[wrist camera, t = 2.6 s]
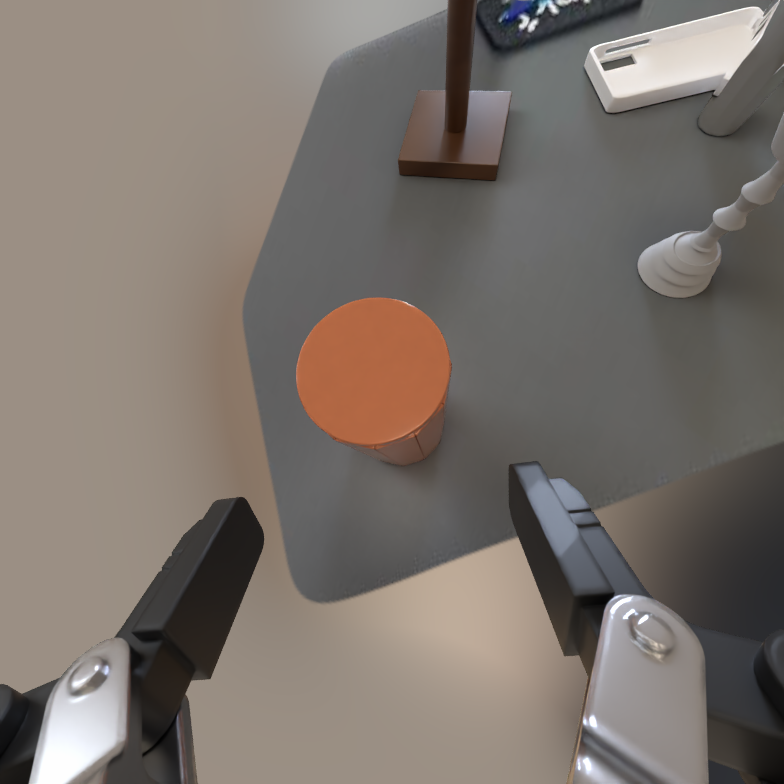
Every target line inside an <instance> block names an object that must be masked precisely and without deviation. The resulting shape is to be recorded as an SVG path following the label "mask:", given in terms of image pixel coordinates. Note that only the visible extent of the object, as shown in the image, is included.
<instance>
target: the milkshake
mask: <svg viewBox="0 0 784 784" xmlns="http://www.w3.org/2000/svg"><path fill="white" fill-rule="evenodd" d="M783 81H784V0H771V2H770V4H769V5H768V7H767V9H766V10H765V12H764V14H763V15H762V17H761V18H760V20H759V22H758V23H757V25H756V27H755V28H754V30H753V32H752V33H751V35H750V36H749V38H748V40H747V41H746V43H745V44H744V46H743V48H742V49H741V51H740V52H739V54H738V55H737V57H736V59H735V60H734V62H733V63H732V65H731V66H730V68H729V70H728V71H727V73H726V74H725V76H724V77H723V79H722V81H721V82H720V84H719V85H718V87H717V88H716V90H715V92H714V93H713V95H712V96H711V98H710V100H709V101H708V103H707V104H706V106H705V107H704V109H703V111H702V112H701V114H700V115H699V117H698V126H699V127H700V128H701V129H702V130H703V131H704V132H705V133H707V134H711V135H715V136H724V135H730V134H733V133H734V132H735V131H736V130H737V129H738V128H739V127H741V126H742V125H743V123H744V122H745V121H746V120H747V119H748V118H749V117H750V116H751V115H752V114H753V113H754V112H755V111H756V110H757V109H758V108H759V107H760V105H761V104H762V103H763V102H764V101H765V100H766V99H767V98H768V97H769V96H770V95H771V94H772V93H773V92H774V91H775V90H776V89H777V87H778V86H779V85H780V84H781V83H782V82H783Z"/></svg>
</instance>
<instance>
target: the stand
mask: <svg viewBox="0 0 784 784" xmlns="http://www.w3.org/2000/svg"><path fill="white" fill-rule="evenodd" d="M476 10H477V0H448V16H447V55H446V91H422V90H419V91H418V93H417V96H416V100H415V103H414V107H413V110H412V113H411V117H410V120H409V124H408V127H407V131H406V134H405V138H404V141H403V145H402V148H401V151H400V155H399V158H398V164H399V173H400V175H415V176H431V177H448V178H464V179H480V180H495V179H496V175H497V170H498V165H499V159H500V154H501V149H502V144H503V138H504V133H505V128H506V122H507V117H508V112H509V106H510V101H511V96H512V92H511V91H470V80H471V68H472V57H473V45H474V34H475V22H476Z"/></svg>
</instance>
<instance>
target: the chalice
mask: <svg viewBox="0 0 784 784" xmlns="http://www.w3.org/2000/svg"><path fill="white" fill-rule="evenodd" d="M771 149H772V152H773V155H774V156H775V157H776V159H777V160H778V161H777V162H776V164H775V165H774V166H773V167H772V169H771V170H769V171H768V172H767V173H765V174H764V175H762V176H761V177H760V178H758V179H757V180H755V181H752V182H749V183H747V184H745V185H744V186H743V187H742V191H741V195H740V197H739V198H738V200H737V201H736V203H734V204H732V205H731V206H729V207H725V208H720V209H718V210H716V211H715V212H714V214H713V222H712V223H711V225H710V226H709V228H708V229H707V230H705V231H704V232H700V231H687V232H681V233H677V234H675V235H673V236H671V237H669V238H667V239H664V240H663V241H661V242H659V243H657V244H654V245H652V246H650V247H648V248H647V249H645V251H644V252H643V253H642V254H641V255H640V258H639V261H638V272H639V274H640V276H641V278H642V280H643V282H644V283H645V284H647V285H648V286H649V287H650V288H651V289H652V290H654V291H656V292H658V293H660V294H662V295H665V296H669V297H676V298H685V297H690V296H694V295H696V294H698V293H700V292H701V291H703V290H704V289H705V288H706V287H707V286H708V284H709V283H710V280H711V277H712V276H713V274H714V273H715V271H716V268H717V266H718V265H719V264H720V261H721V247H720V244H719V243H718V239H719V238H720V237H721V236H722V235H724V234H726V233H727V232H729V231H735V230H739V229H741V228H743V227H744V226H745V224H746V216H747V215H748V213H749V212H750V211H751V210H752V209H754V208H756V207H758V206H760V205H763V204H767V203H770V202H771V201H773V199H774V198H775V194H776V191H777V190H778V189H779V188H780V187H781V185H782V184H783V183H784V113H783V116H782V118H781V121H780V123H779V126H778V129H777V131H776V134H775V136H774V139H773V141H772V146H771Z"/></svg>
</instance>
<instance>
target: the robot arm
mask: <svg viewBox="0 0 784 784" xmlns="http://www.w3.org/2000/svg"><path fill="white" fill-rule="evenodd" d="M509 508H510V514H511V518H512V521H513V524H514V527H515V529H516V532H517V535H518V537H519V540H520V542H521V544H522V548H523V550H524V552H525V555H526V558H527V560H528V563H529V566H530V568H531V571H532V573H533V576H534V579H535V581H536V584H537V586H538V589H539V592H540V594H541V597H542V599H543V601H544V604H545V607H546V610H547V612H548V615H549V617H550V620H551V623H552V625H553V628H554V630H555V633H556V635H557V638H558V641H559V643H560V646H561V649H562V651H563V654H564V656H575V655H579V656H580V658H581V661H582V663H583V665H584V667H585V670H586V673H587V675H588V679H587V684H586V689H585V694H584V700H583V704H582V709H581V714H580V719H579V724H578V729H577V734H576V740H575V744H574V749H573V754H572V759H571V764H570V769H569V774H568V779H567V784H709V783H708V760H711V761H714V762H717V763H720V764H722V765H725V766H728V767H731V768H733V769H736V770H738V772H739V774H740V775H741V777H742V779H743V780H744V782H745V784H784V629H782V630H777V631H775V632H773V633H771V634H770V635H769V636H768V637H767V638H766V640H765V641H764V642H761V641H757V640H752V639H748V638H744V637H740V636H736V635H731V634H727V633H723V632H719V631H714V630H710V629H706V628H703V627H700V626H697V625H694V624H692V623H690V622H687V621H685V620H683V619H682V618H681V617H680V616H679V615H677V614H676V613H675V612H673V611H672V610H671V609H670V608H668V607H666V606H665V605H663V604H662V603H660V602H658V601H656V600H655V599H654V598H653V597H652V596H651V595H650V594H649V593H648V592H647V591H646V589H645V588H644V586H643V585H642V584H641V582H640V581H639V579H638V578H637V576H636V575H635V573H634V572H633V570H632V569H631V567H630V566H629V565H628V563H627V562H626V560H625V559H624V557H623V555H622V554H621V552H620V551H619V550H618V548H617V547H616V545H615V544H614V542H613V541H612V539H611V538H610V536H609V535H608V533H607V532H606V530H605V529H604V527H602V526H601V524H600V521H599V520H598V519H597V517H596V516H595V514H594V512H592V511H591V508H590V506H589V505H588V504H587V502H586V501H585V499H584V498H583V496H582V495H581V493H580V492H579V491H578V490H577V489H576V488H574V487H573V486H572V485H570V484H569V483H568V482H567V481H565V480H564V479H563V478H555V479H548V477H547V475H546V473H545V472H544V470H543V468H542V467H541V465H540V464H539V462H537V461H533V462H525V463H517V464H510V465H509ZM263 545H264V533H263V530H262V527H261V526H260V524H259V522H258V520H257V518H256V516H255V515H254V513H253V511H252V509H251V507H250V505H249V503H248V502H247V500H246V499H245V498H243V497H237V498H229V499H221V500H217V501H215V502H214V503H213V504H212V506H211V507H210V509H209V510H208V512H207V513H206V515H205V516H204V518H203V519H202V520H199V521H198V522H197V523H196V524H195V525H194V526H193V527H192V528H191V529H190V530H189V531H188V532H187V533H185V534H184V535H183V537H182V538H181V540H180V541H179V543H178V544H177V546H176V547H175V549H174V550H173V552H172V556H170V557H169V558H168V559H167V561H166V562H165V564H164V565H163V567H162V571H160V572H159V573H158V574H157V576H156V577H155V579H154V580H153V582H152V583H151V584H150V586H149V587H148V589H147V591H146V592H145V593H144V595H143V596H142V598H141V599H140V601H139V603H138V604H137V606H136V607H135V608H134V610H133V611H132V613H131V614H130V616H129V617H128V619H127V620H126V622H125V623H124V625H123V626H122V628H121V630H120V631H119V632H118V633H117V635H116V636H115V637H114V638H111V639H108V640H105V641H103V642H100V643H99V644H97V645H95V646H94V647H92V648H90V649H89V650H88V651H87V652H85V653H84V654H82V655H81V656H80V657H79V658H78V659H77V660H76V661H75V662H74V663H73V664H72V665H71V666H70V667H69V668H68V669H67V670H66V671H65V672H64V674H63V675H62V676H61V677H60V678H58V679H56V680H53V681H51V682H49V683H46V684H44V685H42V686H40V687H37V688H35V689H32V690H30V691H28V692H26V693H23V694H21V693H19V692H18V691H16V690H14V689H13V688H11V687H9V686H8V685H4V684H0V784H198V783H197V775H196V764H195V755H194V746H193V736H192V727H191V717H190V708H189V701H188V698H187V696H186V695H185V693H186V691H187V688H188V686H189V684H190V682H191V680H205V679H210V678H211V676H212V673H213V671H214V668H215V666H216V664H217V661H218V659H219V656H220V654H221V651H222V649H223V646H224V644H225V641H226V639H227V636H228V634H229V632H230V629H231V627H232V624H233V622H234V619H235V617H236V614H237V612H238V609H239V607H240V604H241V602H242V599H243V597H244V594H245V592H246V589H247V587H248V584H249V582H250V579H251V577H252V574H253V572H254V569H255V567H256V564H257V562H258V560H259V557H260V554H261V552H262V549H263Z"/></svg>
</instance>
